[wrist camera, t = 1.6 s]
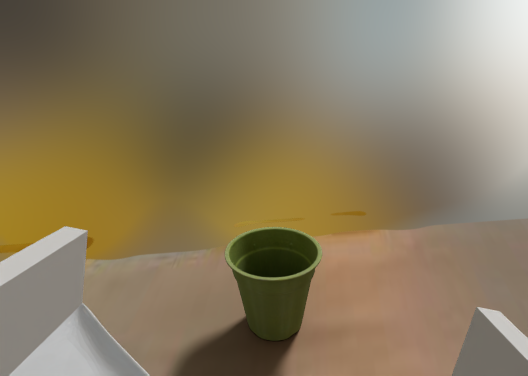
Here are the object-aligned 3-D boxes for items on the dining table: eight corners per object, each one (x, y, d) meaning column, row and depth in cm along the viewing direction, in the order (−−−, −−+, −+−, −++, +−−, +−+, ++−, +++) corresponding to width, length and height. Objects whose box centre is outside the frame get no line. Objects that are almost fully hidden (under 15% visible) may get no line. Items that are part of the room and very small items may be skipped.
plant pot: (246, 370, 41) (239, 289, 37) (222, 305, 52) (215, 236, 48) (337, 341, 45) (340, 264, 41) (298, 285, 55) (297, 220, 51)
